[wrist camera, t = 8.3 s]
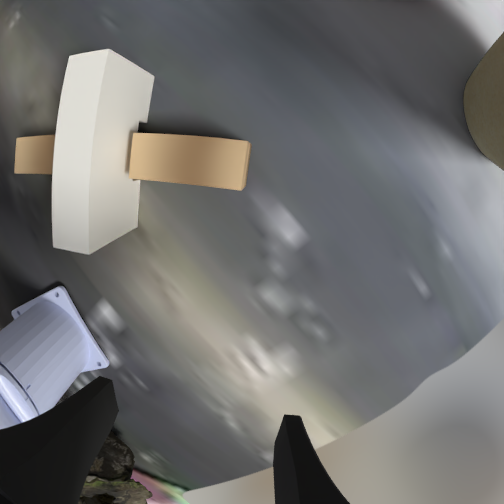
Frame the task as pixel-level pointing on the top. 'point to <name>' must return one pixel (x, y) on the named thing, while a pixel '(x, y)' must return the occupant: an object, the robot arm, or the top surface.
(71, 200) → the white flat block
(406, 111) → the top surface
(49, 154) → the wooden bar
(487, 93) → the plant pot
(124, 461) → the hollow geode rock
